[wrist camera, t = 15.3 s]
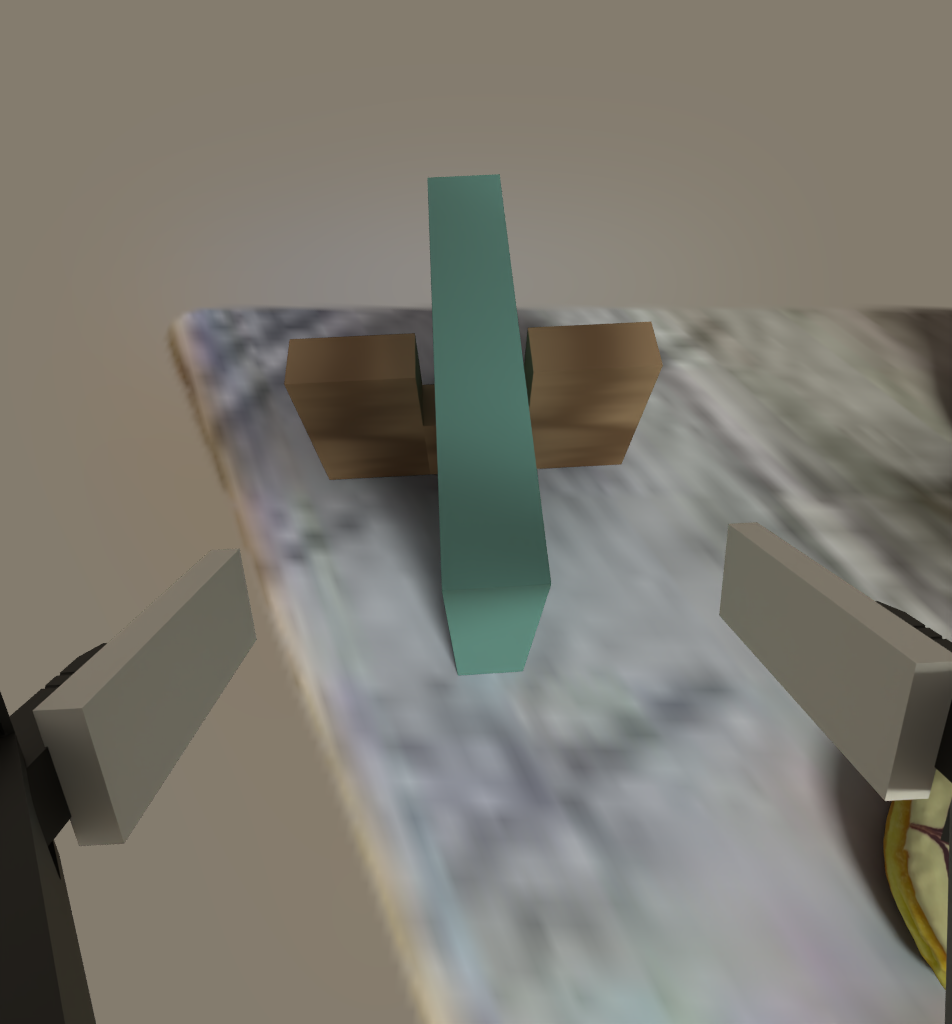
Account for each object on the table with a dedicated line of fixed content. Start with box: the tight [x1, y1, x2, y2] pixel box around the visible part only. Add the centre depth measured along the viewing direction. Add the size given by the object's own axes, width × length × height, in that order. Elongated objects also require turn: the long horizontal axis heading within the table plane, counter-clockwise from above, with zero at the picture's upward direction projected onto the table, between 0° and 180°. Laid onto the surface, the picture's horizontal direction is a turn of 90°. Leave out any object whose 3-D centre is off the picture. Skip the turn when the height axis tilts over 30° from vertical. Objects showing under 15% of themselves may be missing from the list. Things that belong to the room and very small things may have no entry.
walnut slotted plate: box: [284, 322, 663, 480], centre depth 28 cm, size 16×2×8 cm, turn 93°
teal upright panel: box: [428, 174, 551, 675], centre depth 25 cm, size 18×3×12 cm, turn 4°
